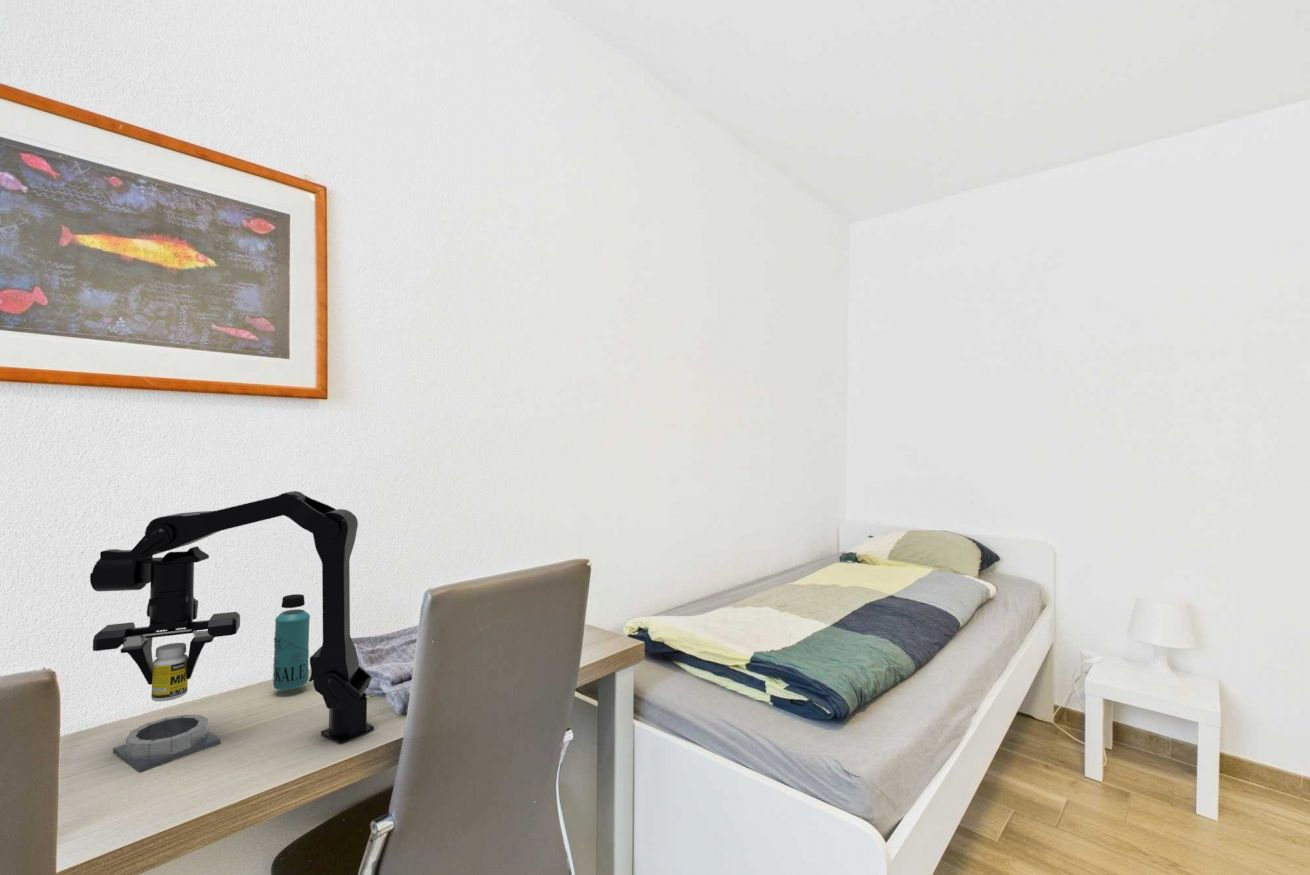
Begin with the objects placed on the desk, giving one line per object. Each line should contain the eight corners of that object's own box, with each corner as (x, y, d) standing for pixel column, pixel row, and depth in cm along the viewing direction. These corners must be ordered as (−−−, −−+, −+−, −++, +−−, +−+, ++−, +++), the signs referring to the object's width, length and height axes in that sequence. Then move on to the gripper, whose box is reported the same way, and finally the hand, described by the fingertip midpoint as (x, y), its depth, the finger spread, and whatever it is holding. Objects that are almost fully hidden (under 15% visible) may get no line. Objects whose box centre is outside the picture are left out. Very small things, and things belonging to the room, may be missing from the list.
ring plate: (220, 743, 102) (220, 723, 102) (139, 772, 93) (140, 751, 93) (191, 727, 108) (192, 708, 108) (113, 753, 98) (113, 732, 99)
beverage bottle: (294, 683, 128) (296, 590, 129) (316, 688, 126) (318, 593, 126) (264, 694, 122) (267, 597, 123) (286, 700, 120) (289, 600, 120)
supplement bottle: (171, 702, 98) (173, 651, 98) (143, 702, 98) (144, 650, 98) (194, 690, 103) (195, 641, 103) (167, 690, 103) (168, 641, 103)
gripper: (244, 574, 112) (243, 657, 112) (115, 584, 103) (113, 674, 103) (236, 586, 103) (234, 677, 102) (92, 599, 94) (90, 698, 93)
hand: (170, 681), depth 101 cm, fingers closed on supplement bottle, 5 cm apart
